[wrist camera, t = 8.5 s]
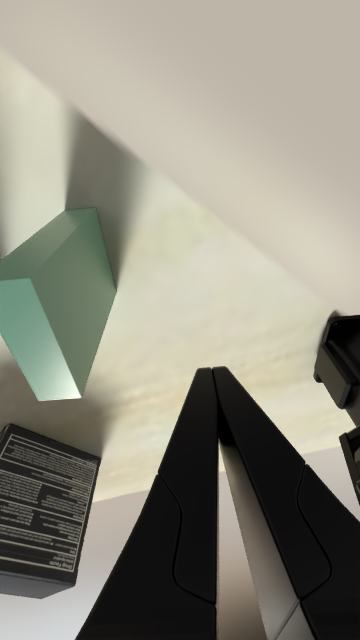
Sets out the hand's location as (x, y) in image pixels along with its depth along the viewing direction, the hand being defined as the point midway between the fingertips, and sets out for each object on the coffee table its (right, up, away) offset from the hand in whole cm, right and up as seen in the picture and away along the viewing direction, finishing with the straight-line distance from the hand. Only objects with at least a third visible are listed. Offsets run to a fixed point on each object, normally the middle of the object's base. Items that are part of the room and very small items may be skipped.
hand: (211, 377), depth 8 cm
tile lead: (-6, +6, +9) cm, 13 cm away
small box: (-15, -13, +22) cm, 30 cm away
